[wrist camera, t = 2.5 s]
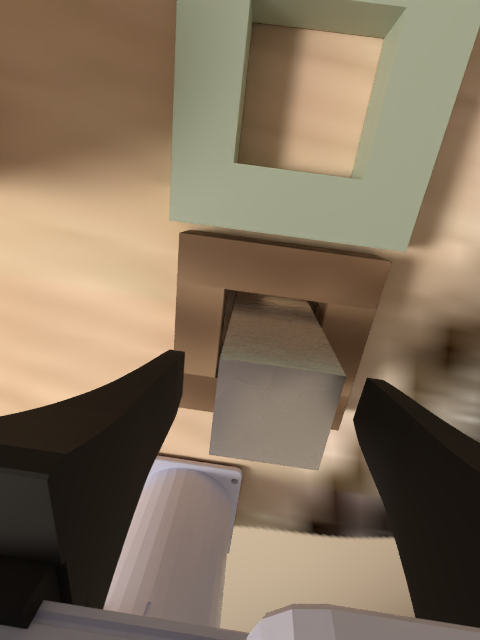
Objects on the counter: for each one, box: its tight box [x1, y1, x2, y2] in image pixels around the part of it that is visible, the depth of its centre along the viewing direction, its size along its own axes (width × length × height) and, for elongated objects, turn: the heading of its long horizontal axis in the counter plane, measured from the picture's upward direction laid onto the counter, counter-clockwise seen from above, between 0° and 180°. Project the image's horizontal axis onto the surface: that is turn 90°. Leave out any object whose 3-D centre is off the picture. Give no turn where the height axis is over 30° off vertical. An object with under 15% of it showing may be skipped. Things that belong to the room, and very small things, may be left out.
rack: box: [169, 0, 480, 252], centre depth 12 cm, size 11×11×2 cm
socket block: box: [174, 230, 391, 430], centre depth 16 cm, size 10×10×2 cm
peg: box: [209, 291, 346, 470], centre depth 13 cm, size 4×4×8 cm
